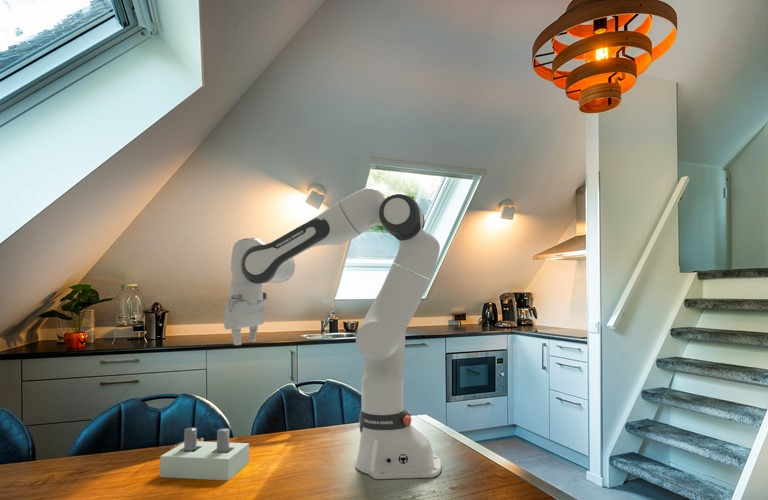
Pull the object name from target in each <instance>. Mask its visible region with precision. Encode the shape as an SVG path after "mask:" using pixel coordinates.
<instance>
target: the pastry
mask: <svg viewBox="0 0 768 500" xmlns="http://www.w3.org/2000/svg"><path fill="white" fill-rule="evenodd" d="M197 441H202V442H205V441H204V437H201V438H197ZM182 443H184V440H183V441H181V442H178V443H177V444H176V443H175V444H174V445H172V446H171V447H170V448H169V449H168V451H170V450H172V449H174V448H175V447H177V446H179V445H180V444H182Z"/></svg>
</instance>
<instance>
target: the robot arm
mask: <svg viewBox="0 0 768 500" xmlns="http://www.w3.org/2000/svg"><path fill="white" fill-rule="evenodd" d="M425 222H426V221H425V216H424V213H423V210H422V208H421V206H420V204H419V203H418V202H416V200H415V199H414V198H413V197H411V196H410V195H408V194H406V193H401V192H400V193H398V192H397V193H393V194H390V195H388V196H387V197H385V196H384V194H383V193H382V192H381V191H380V190H378V189H377V188H375V187H372V186H367V187H364V188H362V189H359V190H358V191H355V192H353V193H350V194H349V195H347V196H345V197H344V198H342V199H341V200H339V201H337V202H336V203H335V204H333V205H332V206H330V207H328V208H327V209H325V210H324V211H323V212H321V213H320V214H318V215H317V216H315V217H313V218H311V219H310V220H309V221H307V222H305V223H303V224H301V225H299V226H298V227H296V228H294V229H292V230H291V231H289V232H287V233H286V234H283V235H282V236H280V237H278V238H277V239H275V240H273V241H271V242H268V243H264V242H263V241H262V240H261V239H260V238H257V237H250V238H249V237H248V238H242V239H239V240H237V241H236V242H235V243H234V244H233V246H232V251H231V261H230V272H231V280H230V284H229V285H230V287H229V292H230V294H229V299H228V301H227V302H226V304H225V308H224V314H223V315H224V316H223V326H224V329H225V330H231V334H232V338H233V345H234V346H241V345H242V344H243V337H241V332H242V329H243V328H249V332H248V333H249V334H248V335H247V341H248V342H250V343H251V342H255V341H256V339H257V338H256V337H257V332H258V329H259V326H261V325H264V322H265V320H266V308H267V305H266V301H267V300H268V293H267V292H266V291H264V289H263V284H267V283H268V284H280V283H284V282H287V281H288V280H290V278H292V276H293V274H294V272H295V269H296V267H295V266H296V265H295V260H294V258H295V257H296V256H299V255H300V254H302V253H304V252H305V251H308V250H310V249H312V248H315V247H319V246H327V245H328V246H334V245H335V246H337V245H342V244H344V243H348V242H349V241H351V240H354V239H355V238H357V237H358V236H361V235H362V234H363V233H365V232H366V231H368V230H370V229H372V228H374V227H377V226H380V227H381V226H382V227H383V228H384V230H386V231H387V232H388V234H389V235H390V236H393V237H394V238H395V239H396V240H397V241H398V244H399V246H398V250H397V254H396V255H395V258H394V259H393V262H392V263H391V266H390V268H389V271H388V273H387V275H386V278H385V279H384V282H383V284H382V285H381V288H380V290H379V292H378V294H377V296H376V297H375V299H374V301H372V303H371V306H370V307H369V309H368V311H367V313H366V315H365V316H364V318H363V320H362V322H361V324H360V326H359V328H358V330H357V332H356V337H355V344H356V348H357V350H358V351H359V353H360V354H361V355H362V356H363V357H364V365H363V373H362V377H361V409H360V411H359V418H358V419H359V432H360V437H359V438H360V439H359V447H358V453H357V457H356V461H355V464H354V466H355V468H356V469H357V470H358V471H360V472H362V473H364V474H367V475H369V476H370V477H371V478H372V479H376V480H387V479H388V480H390V479H393V480H395V479H417V478H419V479H422V478H424V479H425V478H435V477H436V476H438V475H439V474H440V473H441V472H442V461H441V458H439V457H438V455H435V454H433V449H432V444H431V442H430V439H428V437H427V436H426V435H424V434H423V433H422V432H420V431H419V430H418V429H417V428H416V427H414V426H413V425H412V424H411V423H412V415H411V412H410V410H408V411H407V410H405V409H404V389H403V388H404V385H403V384H404V365H405V352H406V331H407V328H408V327H409V325H410V322H411V320H412V318H413V317H414V315H415V313H416V311H417V309H418V307H419V305H420V304H421V301H422V299H423V297H424V295H425V293H426V290H427V288H428V285H429V284H430V281H431V279H432V276H433V274H434V271H435V269H436V266H437V263H438V259H439V255H440V251H441V246H440V242H439V241H438V239H437V238H436V237H435V236H433V235H432V234H430V233H429V232H426V231H425V230H424V228H425Z"/></svg>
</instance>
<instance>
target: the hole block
mask: <svg viewBox="0 0 768 500" xmlns="http://www.w3.org/2000/svg"><path fill="white" fill-rule="evenodd" d="M216 434H217V435H216V441H204V442H202V441H197V446H196V451H195V452H184V443H182V444H180V445H179V446H177V447H175V448H174V449H172V450H170V451H169V450H168V451H167V452H165V453H164V454H163V453H162V454H161V455H160V456H159V478H167V479H168V478H169V479H170V478H171V479H173V478H174V479H190V480H214V481H230V480H231V479H232V478H233V477H234V476H235V475H236V474H237V473H239V472H240V471H241V470H242V469H243V468H244V467H245V466H247V465H248V464H249V462H250V443H248V442H245V443H244V442H230V428H219V429H218V430H217V431H216ZM246 464H247V465H246Z"/></svg>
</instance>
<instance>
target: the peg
mask: <svg viewBox="0 0 768 500" xmlns="http://www.w3.org/2000/svg"><path fill="white" fill-rule="evenodd" d="M183 435H184V436H183V437H184V439H183V441H184V452H195V451H196V446H197V439H198V438H197V437H198V427H187V428H185V429H184V434H183Z"/></svg>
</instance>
